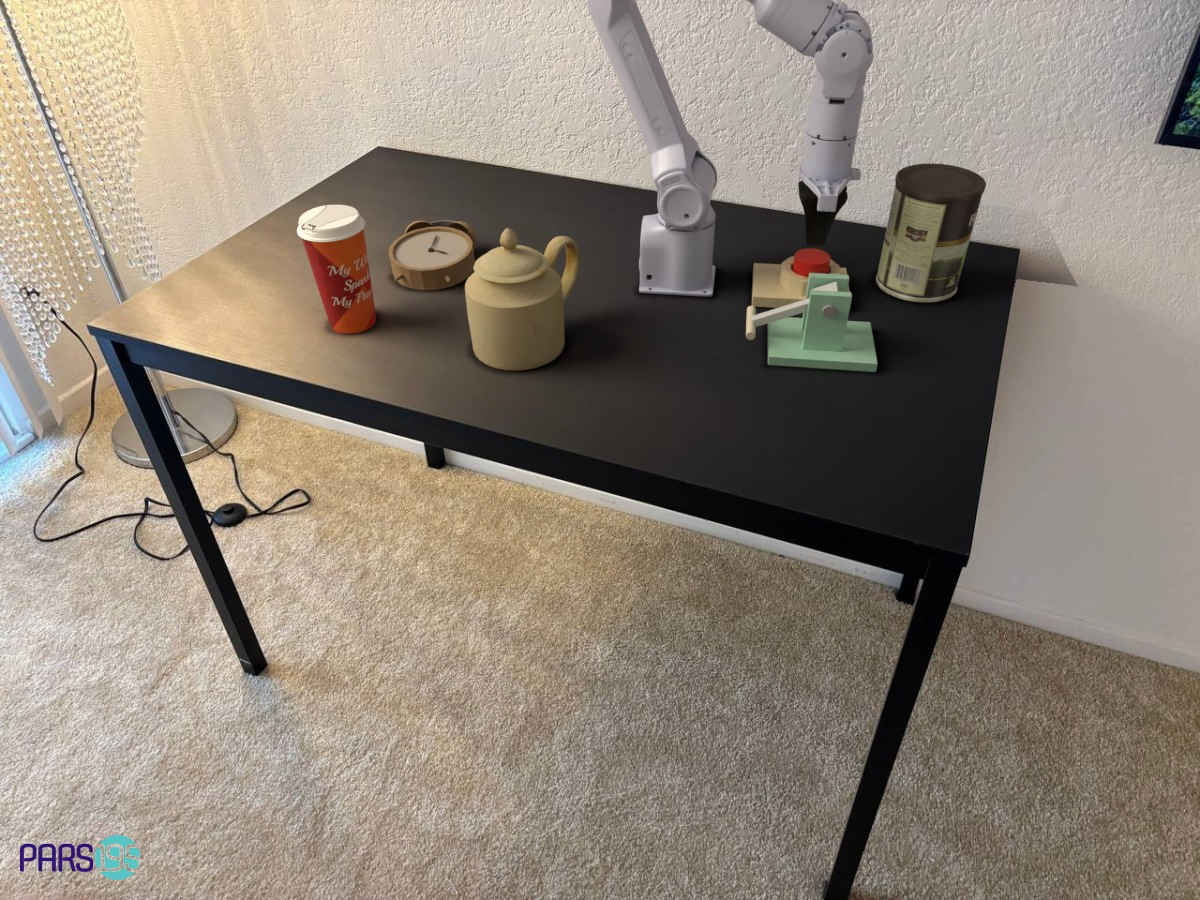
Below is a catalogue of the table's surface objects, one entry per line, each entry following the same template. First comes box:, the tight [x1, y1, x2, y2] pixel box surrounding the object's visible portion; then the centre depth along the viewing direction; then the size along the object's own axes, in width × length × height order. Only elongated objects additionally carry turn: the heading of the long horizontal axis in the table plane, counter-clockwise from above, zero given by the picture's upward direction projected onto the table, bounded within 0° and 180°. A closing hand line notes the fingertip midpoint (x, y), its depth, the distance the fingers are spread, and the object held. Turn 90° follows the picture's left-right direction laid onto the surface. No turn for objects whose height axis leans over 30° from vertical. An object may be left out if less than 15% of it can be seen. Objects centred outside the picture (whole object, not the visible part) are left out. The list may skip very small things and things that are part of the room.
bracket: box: [767, 273, 878, 373], centre depth 98 cm, size 12×9×8 cm
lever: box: [745, 282, 840, 341], centre depth 98 cm, size 11×6×2 cm, turn 80°
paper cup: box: [296, 204, 377, 335], centre depth 103 cm, size 8×8×14 cm
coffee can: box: [875, 162, 987, 304], centre depth 108 cm, size 10×10×14 cm
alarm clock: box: [388, 219, 478, 291], centre depth 118 cm, size 11×5×15 cm
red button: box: [793, 247, 831, 277], centre depth 108 cm, size 4×4×2 cm
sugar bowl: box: [464, 227, 581, 372], centre depth 99 cm, size 15×11×15 cm
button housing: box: [751, 255, 852, 312], centre depth 110 cm, size 12×9×4 cm
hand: (814, 242), depth 106 cm, fingers closed
